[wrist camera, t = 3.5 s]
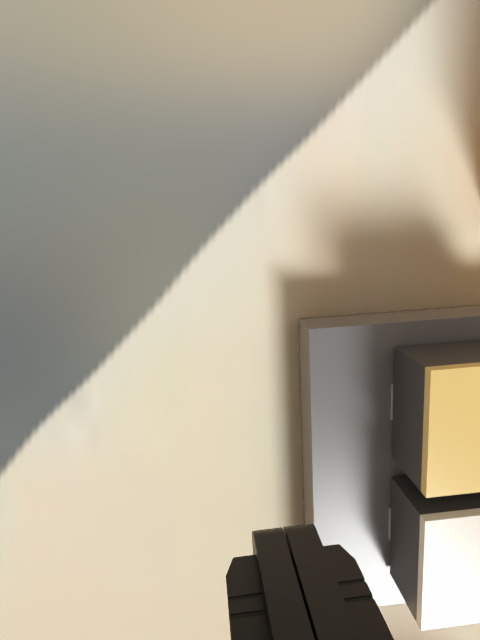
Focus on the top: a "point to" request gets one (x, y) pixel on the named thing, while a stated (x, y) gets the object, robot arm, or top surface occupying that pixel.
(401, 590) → the block
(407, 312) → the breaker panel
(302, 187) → the top surface
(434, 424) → the block
